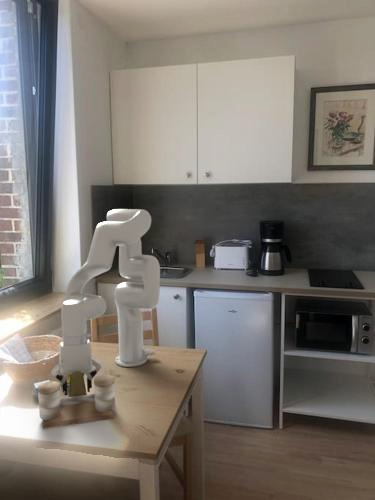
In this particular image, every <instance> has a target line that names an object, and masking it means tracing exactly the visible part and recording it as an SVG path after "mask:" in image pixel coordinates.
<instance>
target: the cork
mask: <svg viewBox="0 0 375 500" xmlns="http://www.w3.org/2000/svg"><path fill="white" fill-rule="evenodd" d="M85 375H86V374H85V373H81V372H80V371H75V372H73V373H72V374H71V375H69V377H70V386H68V387H69V390H68V397H74V396H82V395H88V394H87V393H88V392H87V388H86V382H85V377H84V376H85Z"/></svg>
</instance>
